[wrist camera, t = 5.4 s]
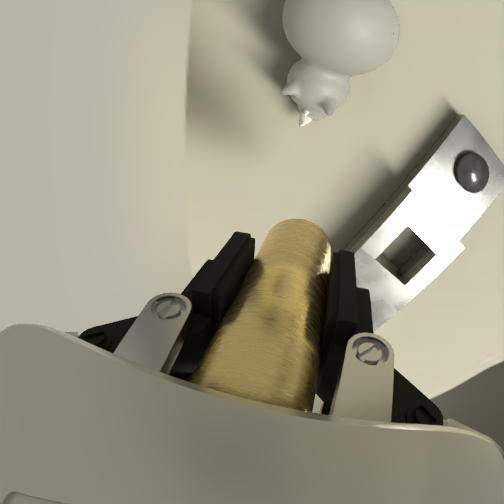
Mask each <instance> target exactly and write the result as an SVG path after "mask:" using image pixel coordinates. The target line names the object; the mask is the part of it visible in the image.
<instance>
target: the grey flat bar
mask: <svg viewBox="0 0 504 504" xmlns="http://www.w3.org/2000/svg"><path fill="white" fill-rule="evenodd" d="M503 187H504V165H503V164H502V162H501V161H500V159H499V158H498V157H497V155H496V154H495V152H494V151H493V150H492V148H491V147H490V146H489V144H488V143H487V142H486V141H485V139H484V138H483V137H482V136H481V134H480V133H479V132H478V131H477V129H476V128H475V127H474V126H473V125H472V123H471V122H470V121H469V120H468V119H467V118H466V116H465V115H458V114H457V116H456V117H455V118H454V119H453V121H452V122H451V123H450V125H449V126H448V127H447V129H446V130H445V131H444V133H443V134H442V135H441V136H440V138H439V139H438V140H437V142H436V143H435V144H434V145H433V147H432V148H431V149H430V150H429V152H428V153H427V154H426V155H425V156H424V158H423V159H422V160H421V161H420V163H419V164H418V165H417V166H416V167H415V169H414V170H413V171H412V172H411V173H410V175H409V176H408V177H407V178H406V179H405V181H404V182H403V183H402V184H401V185H400V186H399V188H398V189H397V190H396V191H395V192H394V193H393V195H392V196H391V197H390V198H389V199H388V200H387V201H386V203H385V204H384V205H383V206H382V207H381V208H380V209H379V211H378V212H377V213H376V214H375V215H374V216H373V217H372V218H371V219H370V221H369V222H368V223H367V224H366V225H365V226H364V227H363V228H362V229H361V230H360V232H359V233H358V234H357V235H356V236H355V237H354V238H353V239H352V240H351V241H350V242H349V243H348V244H347V246H346V247H345V248H344V249H343V250H345V251H351V252H354V256H355V269H356V285H357V287H359V288H365V289H369V291H370V299H371V310H372V321H373V331H375V330H376V329H377V328H378V327H380V326H381V325H382V324H383V323H385V322H386V321H387V320H388V319H389V318H391V317H392V316H393V315H394V314H395V313H397V312H398V311H399V310H400V309H401V308H402V307H404V306H405V305H406V304H407V303H408V302H409V301H410V300H412V299H413V298H414V297H415V296H416V295H417V294H418V293H419V292H420V291H421V290H423V289H424V288H425V287H426V286H427V285H428V284H429V283H430V282H431V281H432V280H433V279H434V278H435V277H436V276H437V275H438V274H439V273H440V272H441V271H442V270H443V269H444V268H445V267H446V266H447V265H448V264H449V263H450V262H451V261H452V260H453V259H454V258H455V257H456V256H457V255H458V254H459V253H460V252H461V251H462V250H463V249H464V247H463V245H462V244H461V243H460V242H459V240H460V239H461V237H462V236H463V235H464V234H465V233H466V232H467V231H468V230H469V229H470V227H471V226H472V225H473V224H474V223H475V222H476V220H477V219H478V218H479V217H480V216H481V215H482V213H483V212H484V211H485V210H486V209H487V207H488V206H489V205H490V204H491V202H492V201H493V200H494V199H495V197H496V196H497V195H498V194H499V192H500V191H501V190H502V188H503ZM407 225H408V226H409V227H410V228H411V229H412V230H413V231H414V232H415V233H416V234H417V235H418V236H419V237H420V238H421V239H422V240H423V241H424V242H425V243H424V244H423V245H422V246H421V247H420V248H419V249H418V250H417V252H416V253H415V254H414V255H413V256H412V257H411V258H410V259H409V260H408V261H407V262H406V263H405V264H404V265H403V266H402V267H401V268H400V269H398V268H397V267H396V266H395V265H394V264H393V263H392V262H391V261H389V260H388V259H387V258H386V257H385V256H384V255H383V254H381V253H382V252H383V251H384V250H385V249H386V248H387V247H388V246H389V245H390V244H391V243H392V241H393V240H394V239H395V238H396V237H397V236H398V235H399V234H400V233H401V232H402V231H403V230H404V229H405V228H406V227H407ZM331 262H332V261H331ZM331 262H330V266H331Z"/></svg>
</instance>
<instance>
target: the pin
mask: <svg viewBox="0 0 504 504" xmlns="http://www.w3.org/2000/svg"><path fill="white" fill-rule="evenodd" d="M330 261H331V246H330V242H329V239H328V237H327V236H326V234H325V233H324V232H323V230H322V229H321V228H319V227H318V226H317V225H315V224H314V223H312V222H309V221H307V220H302V219H289V220H285V221H282V222H280V223H278V224H277V225H275V226H274V227H273V228H272V229H271V230H270V231H269V233H268V235H267V236H266V238H265V240H264V242H263V244H262V246H261V248H260V250H259V252H258V253H257V255H256V257H255V259H254V261H253V263H252V265H251V267H250V269H249V270H248V272H247V274H246V276H245V278H244V280H243V282H242V284H241V285H240V287H239V289H238V291H237V293H236V295H235V297H234V299H233V300H232V302H231V304H230V306H229V308H228V310H227V312H226V314H225V315H224V317H223V319H222V321H221V323H220V325H219V327H218V328H217V330H216V332H215V334H214V336H213V338H212V340H211V342H210V343H209V345H208V347H207V349H206V351H205V353H204V355H203V356H202V358H201V360H200V362H199V364H198V366H197V368H196V369H195V371H194V373H193V375H192V377H191V379H190V381H189V382H191V383H194V384H197V385H200V386H203V387H206V388H210V389H213V390H217V391H220V392H224V393H227V394H231V395H235V396H238V397H242V398H246V399H250V400H254V401H258V402H263V403H267V404H271V405H276V406H281V407H286V408H291V409H296V410H301V411H306V412H312V410H313V404H314V398H315V392H316V386H317V379H318V372H319V366H320V358H321V343H322V335H323V327H324V318H325V309H326V299H327V289H328V278H329V271H330Z"/></svg>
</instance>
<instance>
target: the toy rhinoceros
mask: <svg viewBox="0 0 504 504" xmlns="http://www.w3.org/2000/svg"><path fill="white" fill-rule="evenodd" d="M282 22H283V28H284V32H285V35H286V37H287V39H288V41H289V43H290V44H291V46H292V47H293V48H294V50H295V51H296V52H297V53H298V54H299V55H300V57H301V59H300V60H299V61H297V62H296V63H295V64H294V65H293V66H292V68H291V69H290V71H289V73H288V77H287V84H286V85H285V86H284V87H283V88H282V90H281V94H283V95H290V96H291V99H292V100H293V101H294V102H295V103H297V107H298V111H299V112H300V116H299V126H300V127H301V126H304V125H306V124H308V123H309V122H310V121H311V120H316V121H317V120H320V119H322V118H324V117H326V116H327V115H331V114H332V113H333V111H334V109H336V108H338V107H339V106H341V105H342V104H343V103H344V102H345V100H346V99H347V97H348V94H349V77H351V76H353V75H359V74H364V73H368V72H370V71H373V70H375V69H377V68H379V67H380V66H382V65H383V64H384V63H385V62H387V61H388V60H389V58H390V57H391V56H392V55H393V53H394V51H395V49H396V47H397V44H398V41H399V36H400V26H399V20H398V17H397V14H396V11H395V9H394V7H393V5H392V4H391V2H390V1H389V0H286V2H285V4H284V8H283V13H282Z"/></svg>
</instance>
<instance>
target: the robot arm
mask: <svg viewBox="0 0 504 504" xmlns="http://www.w3.org/2000/svg"><path fill="white" fill-rule="evenodd" d="M254 251H255V238H251V235H250V234H248V233H242V232H235V233H234V234H233V235H232V237H231V238H230V239H229V241H228V242H227V243H226V244H225V246H224V247H223V248H222V250H221V251H220V252H219V254H218V255H217V256H216V258H215V259H214V260H208V261H206V263H205V264H204V265H203V266H202V268H201V269H200V270H199V271H198V273H197V274H196V275H195V277H194V278H193V279H192V280H191V282H190V283H189V284H188V286H187V287H186V288H185V289H184V291H183V292H182V293H181V294H177V293H163V294H160V295H158V296H155V297H154V298H152V299H151V300H150V301H149V302H148V303H147V304H146V306H145V307H144V309H143V310H142V312H141V313H140V314H139V316H137V317H133V318H129V319H125V320H121V321H117V322H113V323H109V324H105V325H101V326H96V327H93V328H90V329H87V330H86V331H84V332H83V333H82V334H81V335H79V333H78V332H62V331H59V330H56V329H53V328H49V327H45V326H41V325H34V324H17V325H13V326H10V327H8V328H6V329H5V330H3V331H2V332H0V504H504V453H503V451H502V449H501V448H500V447H499V446H498V445H497V444H496V443H495V442H494V440H492V439H491V438H490V437H488V436H486V435H484V434H481V433H479V432H477V431H475V430H473V429H471V428H469V427H467V426H465V425H462V424H460V423H459V422H456V421H454V420H452V419H450V418H449V419H448V420H447V421H446V420H444V419H443V416H442V413H441V411H440V410H439V408H438V407H437V406H436V405H435V404H434V403H433V402H431V401H430V400H429V399H428V398H427V397H426V396H425V395H424V394H423V393H422V392H420V391H419V390H418V389H417V388H416V387H415V386H414V385H413V384H411V383H410V382H409V381H408V380H407V379H406V378H405V377H404V376H402V375H401V374H400V373H399V372H398V371H397V370H396V369H395V368H394V352H393V349H392V347H391V345H390V344H389V343H388V342H387V341H386V340H385V339H384V338H382V337H381V336H379V335H376V334H373V321H372V310H371V299H370V291H369V289H365V288H359V287H357V285H356V269H355V256H354V252H351V251H345V250H339V253H335V252H334V253H333V257H332V262H331V266H330V271H329V278H328V289H327V299H326V309H325V318H324V327H323V335H322V343H321V358H320V366H319V372H318V379H317V386H316V392H315V394H317V395H318V396H319V397H320V398H321V400H322V401H323V403H322V405H321V409H320V412H319V414H318V413H312V412H306V411H301V410H296V409H291V408H286V407H281V406H276V405H271V404H267V403H263V402H258V401H254V400H250V399H246V398H242V397H238V396H235V395H231V394H227V393H224V392H220V391H217V390H213V389H210V388H206V387H203V386H200V385H197V384H194V383H191V382H189V381H190V379H191V377H192V375H193V373H194V371H195V369H196V368H197V366H198V364H199V362H200V360H201V358H202V356H203V355H204V353H205V351H206V349H207V347H208V345H209V343H210V342H211V340H212V338H213V336H214V334H215V332H216V330H217V328H218V327H219V325H220V323H221V321H222V319H223V317H224V315H225V314H226V312H227V310H228V308H229V306H230V304H231V302H232V300H233V299H234V297H235V295H236V293H237V291H238V289H239V287H240V285H241V284H242V282H243V280H244V278H245V276H246V274H247V272H248V270H249V269H250V267H251V265H252V263H253V261H254Z"/></svg>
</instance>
